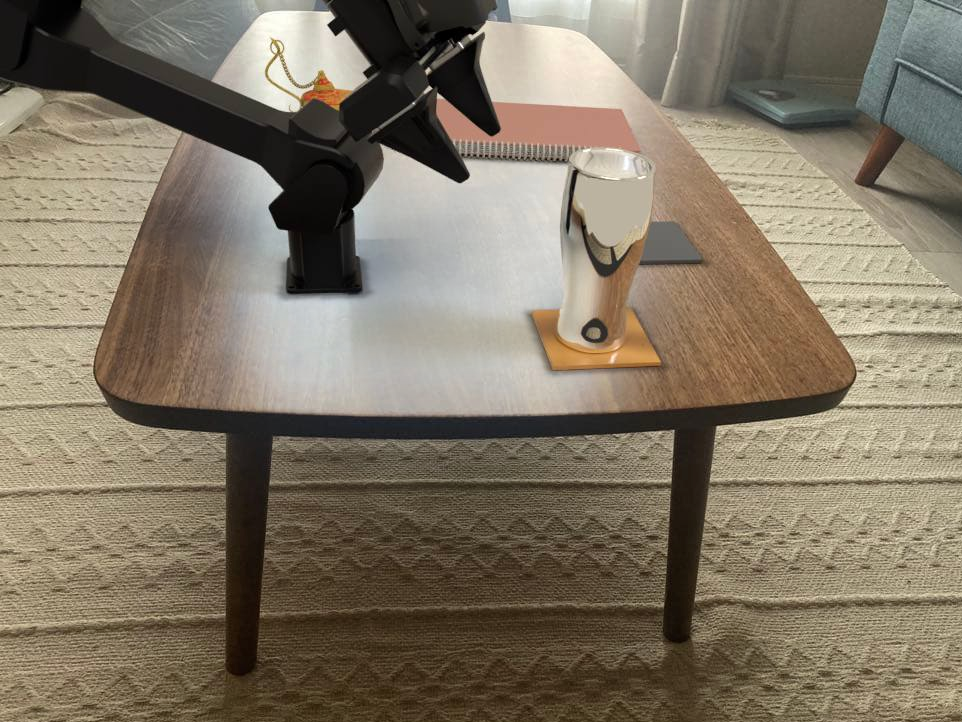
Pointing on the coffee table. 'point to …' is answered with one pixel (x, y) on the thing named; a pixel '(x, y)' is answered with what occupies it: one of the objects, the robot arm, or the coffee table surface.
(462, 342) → the coffee table surface
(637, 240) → the beer glass
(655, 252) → the slate coaster
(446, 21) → the robot arm
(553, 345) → the honey coaster
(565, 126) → the notebook
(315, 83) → the magic lamp
